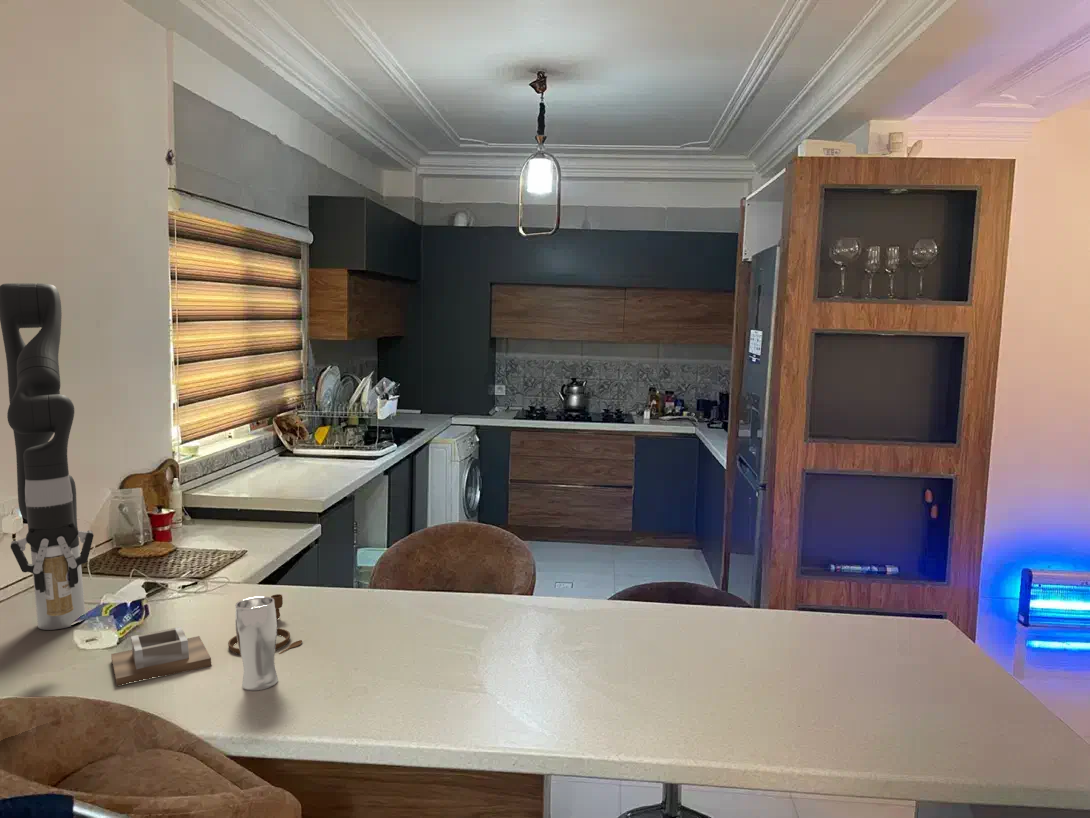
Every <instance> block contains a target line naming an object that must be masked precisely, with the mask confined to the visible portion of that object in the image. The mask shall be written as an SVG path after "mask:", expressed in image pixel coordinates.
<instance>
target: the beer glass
mask: <svg viewBox="0 0 1090 818" xmlns="http://www.w3.org/2000/svg"><path fill="white" fill-rule="evenodd" d="M234 606H235V615H234V618H235V624H234V625H235V634H236V635H235V636H237V641H238V643H237V644H238V649H240V653H241V654H240V657H241V659H242V667H243V671H242V672H243V674H242V675H243V676H242V682H241V683H242V684H241V687H242V689H244V690H246V691H262V690H266V689H270V688H272V687H273V686H275V685H276V684H277V683H278V680H279V678H278V675H277V669H276V664H275V655H276V654H275V653H276V650H275V647H276V644H277V636H278V635H277V628H278V622H277V621H278V620H277V618H276V609H275V604H274V599H273V598H271V596H264V595H263V596H253V597H252V596H251V597H248V598H244V599H241V600H239V601H238V602H236V603H235V605H234Z"/></svg>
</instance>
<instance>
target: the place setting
mask: <svg viewBox="0 0 1090 818" xmlns="http://www.w3.org/2000/svg"><path fill="white" fill-rule="evenodd" d="M270 597H271V598H273V599H274V604H275V610H276V618H277V619H278V618H280V616H281V613H280V609H281V608H282V607H283V603H284V602H283V601H284V600H283V594H273V595H270ZM279 635H281V636H280V637H282V636H283V637H282V638H284V640H282V641H281V642H278V643H276V647H275V651H277V650H280V649H281V648H283V647H285V646H286V645H287V644H288V643H289V642H290V640H291V632H290V631H288V630H286V629H284V628H278V627H277V636H279ZM237 642H238V641H237V636H236V635H235V636H233V637H231V638H230V639H229V641H228V642H227V643H228V644H227V645H228V649H229V650H230V651H231V652H232V653H234V654H236V653H237V654H236V655H241V653H240V649H239V647H235V645H236V644H238V643H237ZM235 643H236V644H235ZM302 643H303V640H301V639H299V640H296V641H294V642H292V643H291V644H290V645H289V646H288V647H287V648H285V649H284V650H282V651H280V652H278V655H281V654H283V653H285V652H287V651H289V650H291V649H294V648H295V649H296V648H297V647H299V646H301V644H302ZM234 644H235V645H234ZM233 645H234V647H233Z"/></svg>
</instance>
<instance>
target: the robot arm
mask: <svg viewBox="0 0 1090 818" xmlns="http://www.w3.org/2000/svg"><path fill="white" fill-rule="evenodd" d="M61 302H62V301H61V296H60V293H59V290H58V288H57V287H56V286H55V285H53V284H50V283H39V282H38V283H26V282H25V283H24V282H23V283H19V282H16V283H13V282H12V283H2V284H0V328H1V335H2V340H3V346H4V352H5V359H6V369H7V384H8V399H9V405H8V408H7V414H6V415H7V422H8V425H9V428H11V429H12V431H13V437H14V446H15V453H16V454H15V455H16V477H17V481H16V483H17V501H18V509H19V511H20V512H19V513H20V515H21V517H22V518H23V519H25V520H27V529H28V530H27V534H26V535H25V537H23V538H21V539H18V540H12V541H11V542H10V549H11V551H12V554H13V555H14V558H15V559H16V562H17V564H18V565H19V568H20V570H21V571H22V573H32V575H33V576H32V577H33V585H34V586H33V588H34V599H35V600H34V601H35V608H36V609H35V610H36V621H37V622H36V623H37V628H38V629H40V630H43V631H44V630H46V631H49V630H50V631H51V630H61V629H66V628H70V627H72V626H71V624H72V622H73V621H74V620H76V619H77V618H78V617H79V616H81V615H82V614H84V613H85V614H86V607H85V595H84V594H85V593H84V584H83V583H84V582H83V572H82V571H83V570H82V565H83V564H87V563H88V559H89V556H90V551H91V547H92V543H93V540H94V535H95V534H94V532H93V531H92V530H87V531H83V530H78V513H77V511H78V508H77V487H76V481H75V480H74V478H73V476H72V475H71V474H70V473H69V461H68V447H69V446H68V444H69V439H70V434H71V431H72V430H71V429H72V426H73V421H74V418H75V406H74V403H73V401H72V399H70V397H68V396H67V395H66V394H61V391H60V389H61V377H60V375H61V374H60V365H59V352H60V343H61V334H62V332H61V331H62V318H63V317H62V314H63V312H62V303H61ZM32 328H33V329H38V328H39V331H38V332H37V333H36V335H34V337H33V338H31V340H30V341H28V342H27V344H26V343H25V342H24V339H23V337H22V335H21V333H20V332H21V331H20V329H32ZM40 328H41V329H40ZM80 542H81V543H82V548H80ZM27 544H29V546H30V555H31V563H29V561H28V559H27V558H26V555H25V554H24V551H26V545H27ZM55 545H59V546H60V547H61V550H62V552H63V554H64V556H65V558H66V559H67V562H68V568H69V576H70V587H71V596H72V604H73V607H74V609H73V610H72V611H71V612H69V613H66V614H64V615H58V616H50V615H47V603H46V598H45V591H44V582H43V568H42V564H43V561H44V557H45V553H46V550H47V547H49V546H55ZM80 549H81V550H80ZM66 551H67V552H66ZM41 555H42V556H41Z"/></svg>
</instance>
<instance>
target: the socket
mask: <svg viewBox="0 0 1090 818" xmlns="http://www.w3.org/2000/svg"><path fill="white" fill-rule="evenodd" d="M130 638H131V639H130V640H131V649H129V650H124V651H119V652H115V653H111V654H110V655H111V665H112V664H113V665H112V669H114V670H113V673H114V674H115V675H114V680H115V679H116V680H115V683H116V684H117V685H116V687H117V686H118V685H122V684H126V683H129V682H134V681H139V680H143V679H149V678H152V677H158V676H163V677H166V676H165V675H167V676H172V675H176V674H179V673H185V672H190V671H194V670H198V669H204V668H207V667H212V657H211V656H210V654H209V652H208V650H207V648H206V646H205V644H204V643H203V641H202V639H201V637H200V636H199V635H198V636H192V637H187V635H186V634H185V632H184V630H183V628H182V626H178V627H177V626H176V627H173V628H167V629H163V630H157V631H152V632H148V633H147V632H146V633H142V634H138V635H131V636H130ZM158 678H159V677H158ZM149 680H150V679H149ZM122 686H123V685H122ZM118 687H119V686H118Z"/></svg>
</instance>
